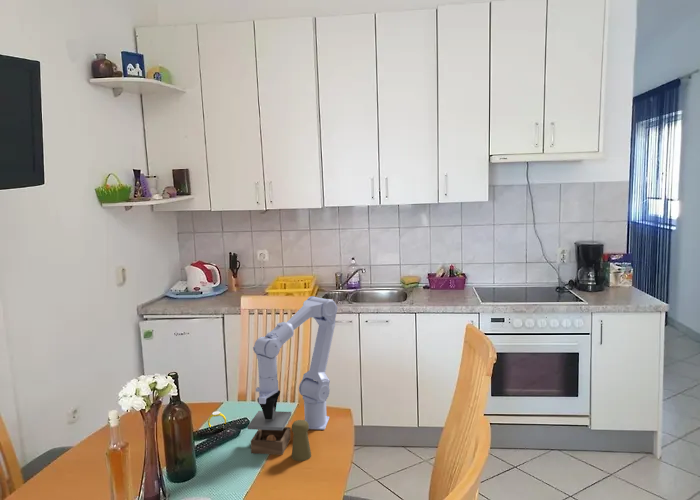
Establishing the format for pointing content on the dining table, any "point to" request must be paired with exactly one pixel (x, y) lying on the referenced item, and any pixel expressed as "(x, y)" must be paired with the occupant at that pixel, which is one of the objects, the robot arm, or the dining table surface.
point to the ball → (271, 438)
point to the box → (270, 447)
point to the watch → (215, 416)
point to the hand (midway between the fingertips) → (270, 416)
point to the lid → (270, 421)
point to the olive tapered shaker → (300, 441)
